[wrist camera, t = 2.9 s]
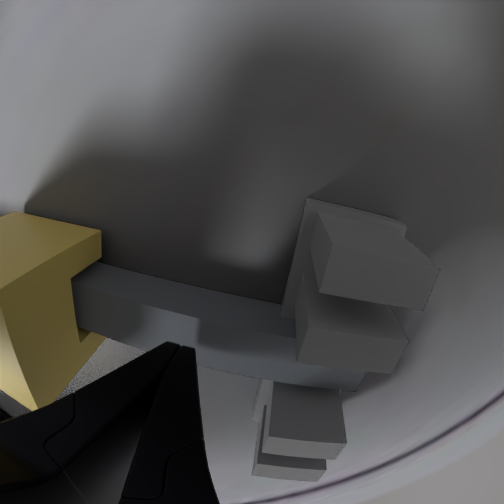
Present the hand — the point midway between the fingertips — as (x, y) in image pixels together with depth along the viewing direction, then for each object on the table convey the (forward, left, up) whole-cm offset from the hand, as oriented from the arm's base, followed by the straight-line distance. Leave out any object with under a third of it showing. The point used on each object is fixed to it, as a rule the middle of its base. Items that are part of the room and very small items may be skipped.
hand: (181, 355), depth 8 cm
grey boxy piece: (0, -4, -2) cm, 5 cm away
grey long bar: (0, +8, -2) cm, 9 cm away
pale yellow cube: (0, +6, -2) cm, 7 cm away
